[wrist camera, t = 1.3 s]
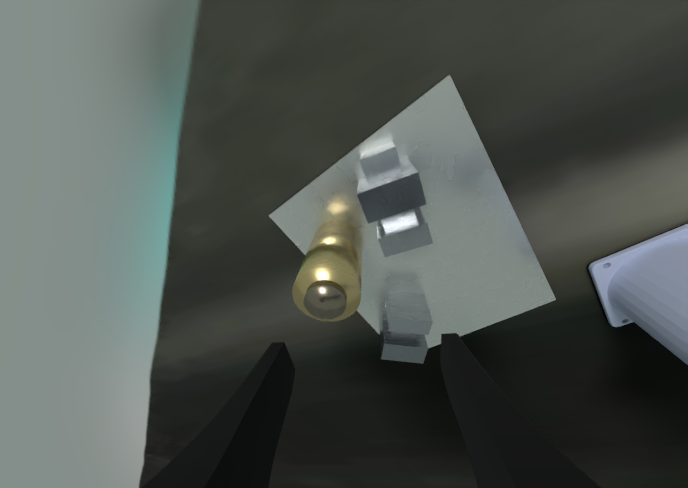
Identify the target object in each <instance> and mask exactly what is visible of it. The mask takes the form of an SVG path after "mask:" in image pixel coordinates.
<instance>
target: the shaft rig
mask: <svg viewBox="0 0 688 488" xmlns="http://www.w3.org/2000/svg"><path fill="white" fill-rule="evenodd" d="M269 217H270V218H271V219H272V220H273V221H274V222H275V223H276V224H277V225H278V226H279V227H280V228H281V230H282V231H283V232H284V233H285V234H286V235H287V236H288V237H289V238H290V239H291V240H292V241H293V242H294V244H295V245H296V246H297V247H298V248H299V249H300V250H301V251H302V252H303V253H304V254H305V255H306V254H307V251H308V249H309V246H310V244H311V241H312V239H313V236H314V234H315V232H316V230H317V229H318V228H319V227H320V226H321V225H322V224H324V223H325V222H328V221H332V220H341V221H345V222H348V223H350V224H352V225H353V226H354V227H356V229H357V230H358V231H359V232H360V234H361V237H362V277H361V301H360V305H359V307H358V309H357V311H358V312H359V313H360V314H361V315H362V317H363V318H364V319H365V320H366V321H367V322H368V323H369V324H370V325H371V326H372V327H373V328H374V329H375V330H376V332H377V333H378V334H379V335H380V348H381V359H384V360H394V361H403V362H413V363H422V364H423V362H424V359H425V356H426V353H427V350H428V348H431V347H433V346H436V345H439V344H441V334H447V333H457V334H458V335H459V336H462V335H465V334H468V333H470V332H473V331H475V330H478V329H481V328H483V327H486V326H489V325H491V324H494V323H496V322H499V321H502V320H504V319H507V318H510V317H512V316H515V315H517V314H520V313H523V312H525V311H528V310H531V309H533V308H536V307H538V306H541V305H544V304H546V303H549V302H552V301H554V300H556V298H555V296H554V294H553V292H552V290H551V288H550V286H549V284H548V281H547V279H546V277H545V275H544V273H543V271H542V269H541V267H540V265H539V262H538V260H537V258H536V256H535V254H534V252H533V250H532V248H531V246H530V243H529V241H528V239H527V237H526V235H525V233H524V231H523V229H522V227H521V224H520V222H519V220H518V218H517V216H516V214H515V212H514V210H513V208H512V205H511V203H510V201H509V199H508V197H507V195H506V193H505V191H504V189H503V186H502V184H501V182H500V180H499V178H498V176H497V174H496V172H495V169H494V167H493V165H492V163H491V161H490V159H489V157H488V155H487V153H486V150H485V148H484V146H483V144H482V142H481V140H480V138H479V136H478V134H477V131H476V129H475V127H474V125H473V123H472V121H471V119H470V117H469V115H468V112H467V110H466V108H465V106H464V104H463V102H462V100H461V98H460V96H459V93H458V91H457V89H456V87H455V85H454V83H453V81H452V79H451V77H450V75H448V76H446V77H445V78H444V79H442V80H441V81H440V82H439V83H437V84H436V85H435V86H434V87H432V88H431V89H430V90H428V91H427V92H426V93H425V94H423V95H422V96H421V97H419V98H418V99H417V100H416V101H414V102H413V103H412V104H410V105H409V106H408V107H407V108H405V109H404V110H403V111H402V112H400V113H399V114H398V115H396V116H395V117H394V118H393V119H391V120H390V121H389V122H387V123H386V124H385V125H384V126H382V127H381V128H380V129H378V130H377V131H376V132H375V133H373V134H372V135H371V136H369V137H368V138H367V139H366V140H364V141H363V142H362V143H361V144H359V145H358V146H357V147H355V148H354V149H353V150H352V151H350V152H349V153H348V154H346V155H345V156H344V157H343V158H341V159H340V160H339V161H337V162H336V163H335V164H334V165H332V166H331V167H330V168H328V169H327V170H326V171H325V172H323V173H322V174H321V175H320V176H318V177H317V178H316V179H314V180H313V181H312V182H311V183H309V184H308V185H307V186H305V187H304V188H303V189H302V190H300V191H299V192H298V193H296V194H295V195H294V196H293V197H291V198H290V199H289V200H287V201H286V202H285V203H284V204H282V205H281V206H280V207H279V208H277V209H276V210H275V211H273V212H272V213H271V214H270V215H269Z"/></svg>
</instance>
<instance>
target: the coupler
mask: <svg viewBox="0 0 688 488" xmlns="http://www.w3.org/2000/svg"><path fill="white" fill-rule="evenodd" d="M361 277H362V237H361V234H360V232H359V231H358V230H357V229H356V227H354V226H353V225H352V224H350V223H348V222H345V221H341V220H332V221H328V222H325V223H324V224H322V225H321V226H320V227H319V228H318V229H317V230H316V232H315V234H314V236H313V239H312V241H311V244H310V246H309V249H308V251H307V254H306V256H305V258H304V261H303V263H302V266H301V268H300V271H299V273H298V276H297V278H296V280H295V283H294V286H293V290H292V293H293V299H294V301H295V303H296V305H297V306H298V308H299V309H300V310H301V311H302V312H304V313H305V314H306V315H308V316H310V317H312V318H314V319H317V320H321V321H339V320H343V319H345V318H347V317H349V316H351V315H352V314H353V313H354V312H355V311H356V310H357V309H358V307H359V305H360V301H361Z"/></svg>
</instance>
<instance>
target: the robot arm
mask: <svg viewBox="0 0 688 488" xmlns="http://www.w3.org/2000/svg"><path fill="white" fill-rule="evenodd" d="M604 264H605V265H604ZM589 271H590V274H591V277H592V279H593V282H594V285H595V287H596V290H597V293H598V295H599V298H600V301H601V303H602V306H603V309H604V311H605V314H606V317H607V319H608V322H609V323H610V324H611V325H612V326H614V327H619V326H623V325H626V324H629V323H632V322H635V323H636V324H637V325H638V326H640V327H641V328H642V329H643V330H645V331H646V332H647V333H648V334H650V335H651V336H652V337H653V338H655V339H656V340H657V341H658V342H660V343H661V344H662V345H663V346H665V347H666V348H667V349H668V350H670V351H671V352H672V353H673V354H674V355H676V356H677V357H678V358H679V359H681V360H682V361H683V362H684V363H686V364H687V365H688V224H685V225H683V226H680V227H678V228H675V229H673V230H671V231H668V232H666V233H663V234H661V235H658V236H656V237H653V238H651V239H649V240H646V241H644V242H641V243H639V244H636V245H634V246H631V247H629V248H627V249H624V250H622V251H619V252H617V253H614V254H612V255H610V256H607V257H605V258H602V259H600V260H597V261H595V262H593V263H591V264H590V265H589ZM440 365H441V369H442V374H443V378H444V382H445V386H446V390H447V393H448V396H449V398H450V401H451V404H452V407H453V410H454V413H455V416H456V419H457V421H458V424H459V427H460V430H461V433H462V436H463V439H464V441H465V444H466V447H467V450H468V453H469V456H470V460H471V463H472V466H473V470H474V474H475V477H476V481H477V485H478V488H601V487H600V486H599V485H598V484H597V483H595V482H594V481H593V480H592V479H591V478H590V477H589V476H588V475H586V474H585V473H584V472H583V471H582V470H581V469H580V468H579V467H578V466H576V465H575V464H574V463H573V462H572V461H571V460H570V459H569V458H568V457H566V456H565V455H564V454H563V453H562V452H561V451H560V450H559V449H558V448H557V447H556V446H555V445H554V444H553V443H552V442H551V441H550V440H549V439H548V438H546V437H545V436H544V435H543V434H542V433H541V432H540V431H539V430H538V429H537V428H536V427H535V426H534V425H533V424H532V423H531V422H530V420H529V419H528V418H527V417H526V416H525V415H524V414H523V413H522V412H521V411H520V410H519V409H518V408H517V407H516V406H515V405H514V403H513V402H512V401H511V400H510V399H509V398H508V397H507V396H506V395H505V394H504V392H503V391H502V390H501V389H500V388H499V387H498V385H497V384H496V383H495V382H494V381H493V379H492V378H491V377H490V376H489V375H488V373H487V372H486V371H485V370H484V369H483V367H482V366H481V365H480V364H479V362H478V361H477V360H476V358H475V357H474V356H473V355H472V353H471V352H470V350H469V349H468V348H467V346H466V345H465V344H464V342H463V341H462V339H461V338H460V336H459V335H458V334H457V333H447V334H441V356H440ZM294 373H295V368H294V365H293V363H292V360H291V358H290V355H289V353H288V351H287V348H286V346H285V343H284V342H279V343H272V344H271V345H270V346H269V347H268V349H267V350H266V352H265V353H264V354H263V356H262V357H261V358H260V360H259V361H258V363H257V364H256V365H255V367H254V368H253V369H252V371H251V372H250V373H249V375H248V376H247V377H246V379H245V380H244V381H243V382H242V384H241V385H240V386H239V388H238V389H237V390H236V391H235V393H234V394H233V395H232V396H231V397H230V399H229V400H228V401H227V402H226V404H225V405H224V406H223V407H222V408H221V410H220V411H219V412H218V413H217V414H216V415H215V416H214V418H213V419H212V420H211V421H210V422H209V423H208V424H207V425H206V426H205V428H204V429H203V430H202V431H201V432H200V433H199V434H198V435H197V436H196V437H195V438H194V439H193V440H192V441H191V442H190V443H189V444H188V445H187V446H186V447H185V448H184V449H183V450H182V451H181V452H180V453H179V454H178V455H177V456H176V457H175V458H174V459H173V460H172V461H171V462H170V463H169V464H168V465H167V466H165V467H164V468H163V469H162V470H161V471H160V472H159V473H158V474H157V475H156V476H154V477H153V478H152V479H151V480H150V481H149V482H148V483H147V484H146V485H145V486H143V487H142V488H268V486H269V480H270V475H271V470H272V465H273V460H274V456H275V451H276V447H277V444H278V440H279V436H280V433H281V429H282V426H283V422H284V418H285V415H286V411H287V407H288V404H289V400H290V396H291V392H292V386H293V380H294Z"/></svg>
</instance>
